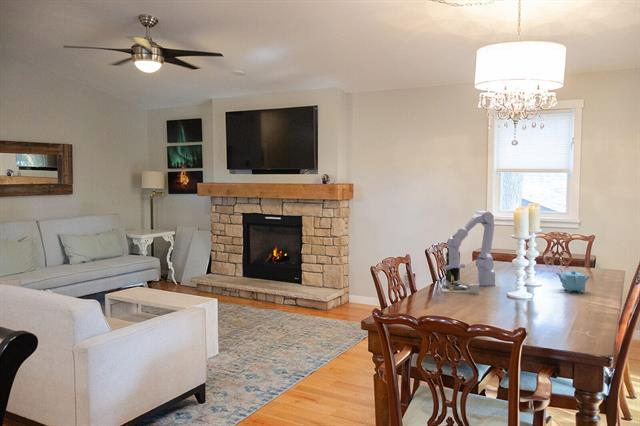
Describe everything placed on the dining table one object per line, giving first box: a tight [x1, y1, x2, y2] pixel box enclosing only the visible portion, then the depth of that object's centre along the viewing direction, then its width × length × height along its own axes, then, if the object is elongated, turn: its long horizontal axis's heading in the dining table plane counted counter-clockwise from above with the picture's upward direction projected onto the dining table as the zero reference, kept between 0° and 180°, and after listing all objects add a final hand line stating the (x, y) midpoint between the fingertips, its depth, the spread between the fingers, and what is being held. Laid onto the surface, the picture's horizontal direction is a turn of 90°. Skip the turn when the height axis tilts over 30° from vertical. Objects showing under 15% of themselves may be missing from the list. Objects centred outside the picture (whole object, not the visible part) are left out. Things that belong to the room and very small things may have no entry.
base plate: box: [438, 284, 469, 293], centre depth 299 cm, size 19×19×1 cm
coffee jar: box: [445, 251, 461, 282], centre depth 327 cm, size 10×8×19 cm
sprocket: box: [441, 275, 469, 290], centre depth 299 cm, size 16×17×6 cm
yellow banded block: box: [468, 283, 480, 295], centre depth 287 cm, size 5×3×5 cm, turn 84°
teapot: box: [555, 270, 591, 294], centre depth 289 cm, size 16×18×11 cm
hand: (454, 280), depth 304 cm, fingers closed, pressing on sprocket
